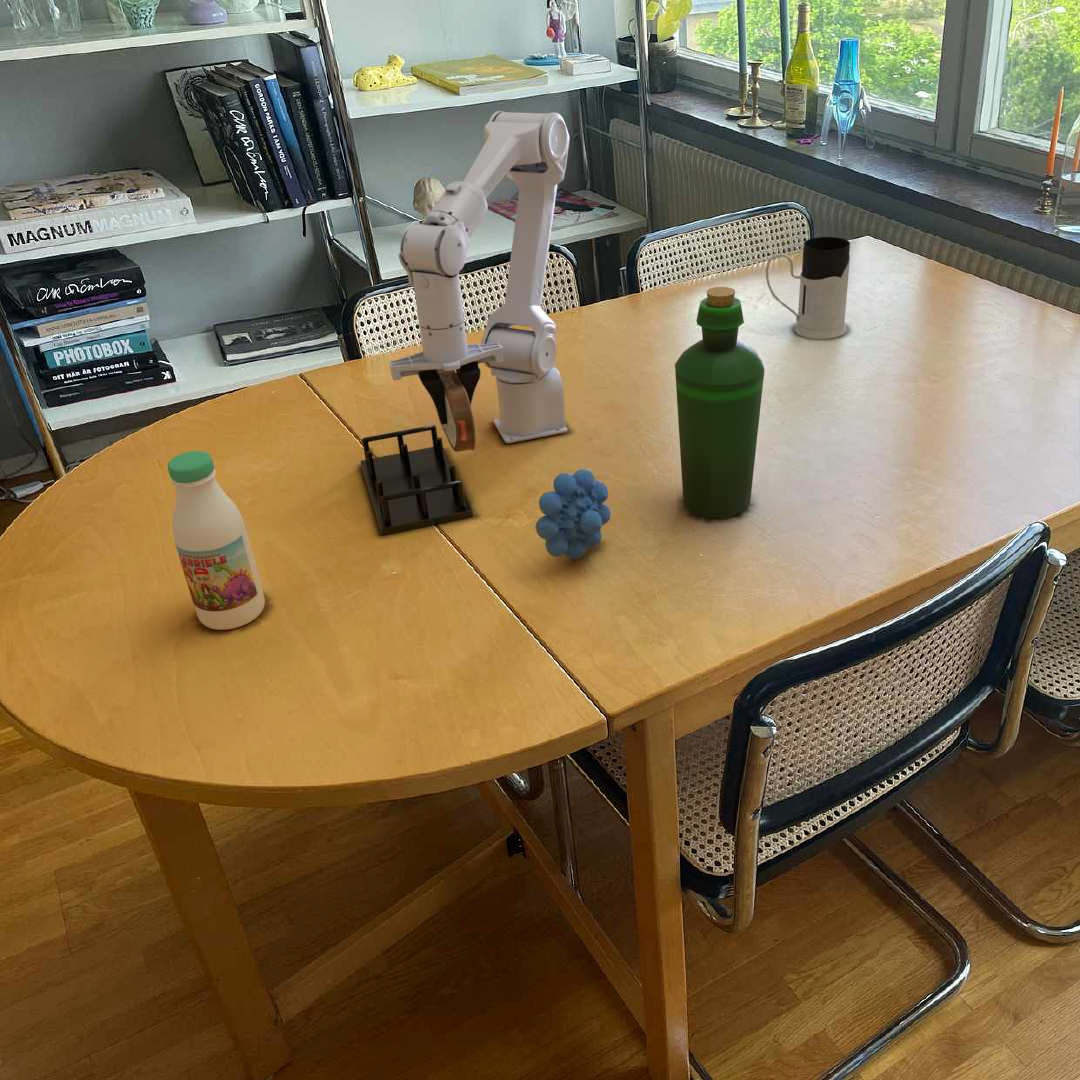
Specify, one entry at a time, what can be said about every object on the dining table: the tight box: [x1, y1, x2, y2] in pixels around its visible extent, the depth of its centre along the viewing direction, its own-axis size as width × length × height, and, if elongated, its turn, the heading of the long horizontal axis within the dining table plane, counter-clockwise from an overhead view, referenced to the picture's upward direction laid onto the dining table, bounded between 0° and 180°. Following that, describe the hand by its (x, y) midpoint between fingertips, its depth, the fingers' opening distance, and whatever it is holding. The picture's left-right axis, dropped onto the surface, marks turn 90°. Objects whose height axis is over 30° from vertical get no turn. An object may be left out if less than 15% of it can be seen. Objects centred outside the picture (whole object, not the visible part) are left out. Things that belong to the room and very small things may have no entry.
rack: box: [360, 424, 474, 536], centre depth 140 cm, size 12×20×5 cm, turn 16°
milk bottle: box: [167, 450, 266, 631], centre depth 115 cm, size 8×8×20 cm
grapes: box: [535, 468, 611, 560], centre depth 121 cm, size 12×7×12 cm, turn 135°
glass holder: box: [765, 236, 851, 340], centre depth 175 cm, size 9×14×15 cm, turn 89°
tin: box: [437, 370, 476, 453], centre depth 136 cm, size 15×3×8 cm, turn 16°
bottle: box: [674, 286, 765, 518], centre depth 125 cm, size 11×11×28 cm
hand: (454, 419), depth 137 cm, fingers closed on tin, 2 cm apart
